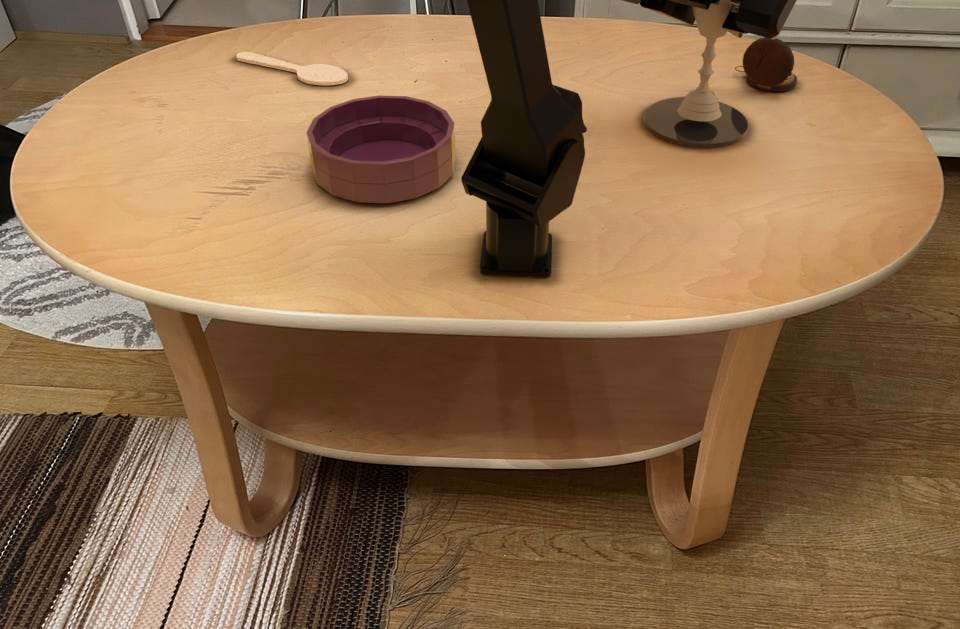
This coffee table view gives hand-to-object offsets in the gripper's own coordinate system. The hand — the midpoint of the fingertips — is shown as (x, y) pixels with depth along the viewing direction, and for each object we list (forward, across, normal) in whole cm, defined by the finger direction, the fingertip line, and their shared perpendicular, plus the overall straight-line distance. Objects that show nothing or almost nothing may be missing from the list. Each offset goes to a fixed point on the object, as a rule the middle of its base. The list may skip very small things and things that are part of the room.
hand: (717, 27), depth 88 cm
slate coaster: (+7, 0, +9) cm, 11 cm away
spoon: (-7, +49, +23) cm, 55 cm away
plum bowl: (-14, +21, +31) cm, 40 cm away
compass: (+18, -1, -2) cm, 18 cm away
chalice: (+6, 0, +8) cm, 10 cm away
